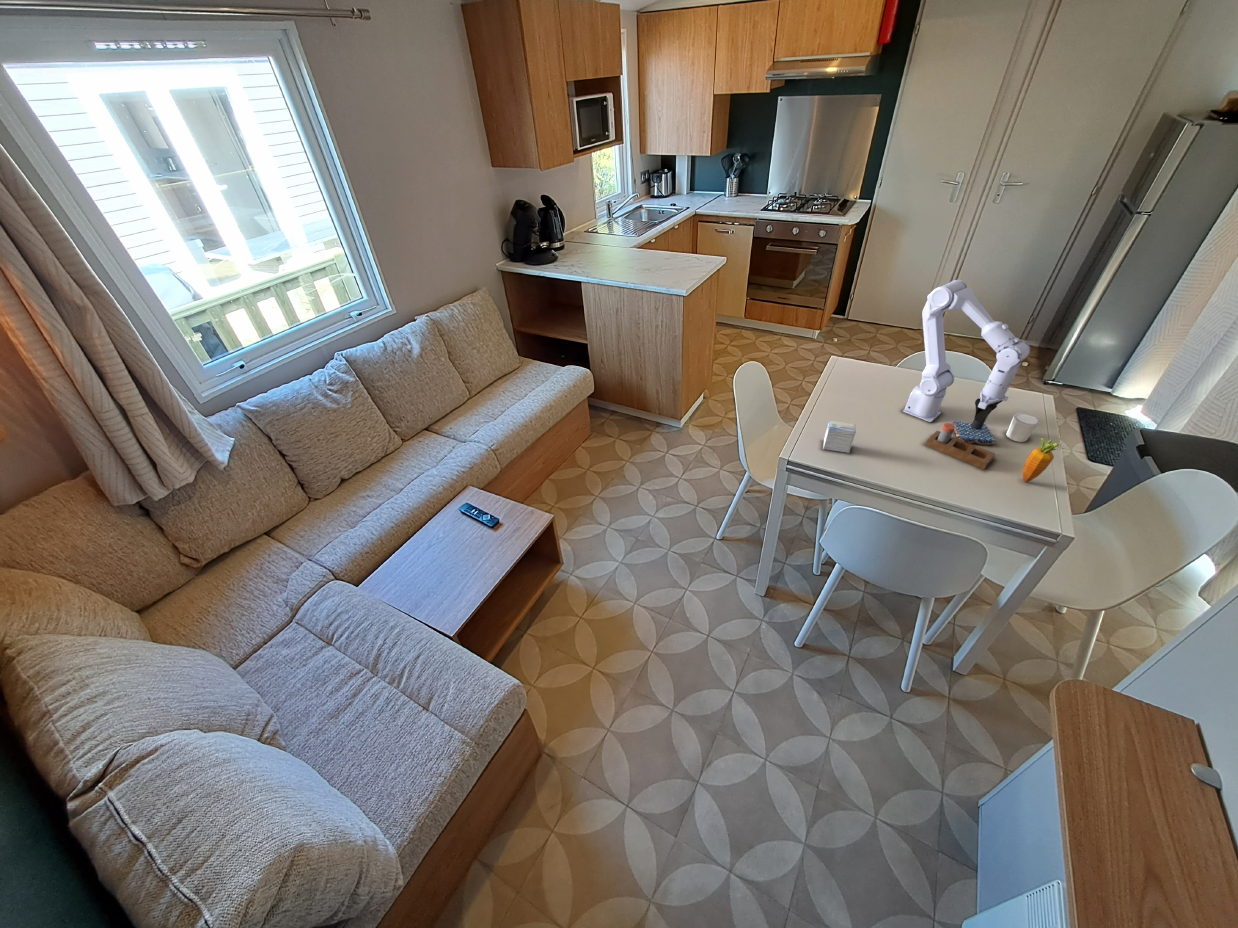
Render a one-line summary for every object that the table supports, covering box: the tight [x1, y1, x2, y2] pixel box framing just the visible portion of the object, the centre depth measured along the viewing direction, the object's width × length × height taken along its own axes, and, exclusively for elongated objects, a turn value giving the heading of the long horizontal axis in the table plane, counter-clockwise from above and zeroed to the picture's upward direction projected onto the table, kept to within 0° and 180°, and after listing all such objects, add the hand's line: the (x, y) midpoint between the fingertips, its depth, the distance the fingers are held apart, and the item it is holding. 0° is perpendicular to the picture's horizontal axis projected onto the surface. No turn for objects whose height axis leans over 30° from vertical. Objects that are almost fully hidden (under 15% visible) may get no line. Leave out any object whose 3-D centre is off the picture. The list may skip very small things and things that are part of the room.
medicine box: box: [822, 420, 857, 454], centre depth 156 cm, size 8×4×9 cm, turn 71°
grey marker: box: [937, 422, 955, 444], centre depth 154 cm, size 3×3×8 cm
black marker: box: [971, 414, 990, 430], centre depth 155 cm, size 3×3×8 cm
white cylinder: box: [1005, 412, 1041, 443], centre depth 156 cm, size 7×7×7 cm
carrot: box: [1022, 438, 1060, 483], centre depth 137 cm, size 5×5×15 cm
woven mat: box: [951, 420, 996, 446], centre depth 159 cm, size 10×11×2 cm
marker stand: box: [925, 430, 996, 470], centre depth 153 cm, size 17×7×2 cm, turn 41°
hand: (980, 418), depth 155 cm, fingers closed on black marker, 3 cm apart
